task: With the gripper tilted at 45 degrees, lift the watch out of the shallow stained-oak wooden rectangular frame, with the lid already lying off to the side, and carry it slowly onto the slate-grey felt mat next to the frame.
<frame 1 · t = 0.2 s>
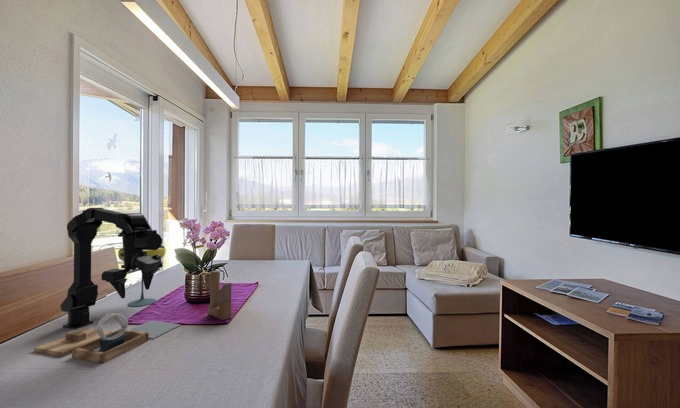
hand: (135, 293, 105), 14 cm above the table, tool pointing down, fingers open, 9 cm apart
watch: (112, 349, 95), resting in wooden rectangular frame
felt mat: (152, 329, 109), on the table
wooden rectangular frame: (112, 348, 95), on the table
cocktail glass: (142, 303, 138), on the table
toolbox lid: (75, 342, 98), on the table
wooden block: (219, 316, 123), on the table
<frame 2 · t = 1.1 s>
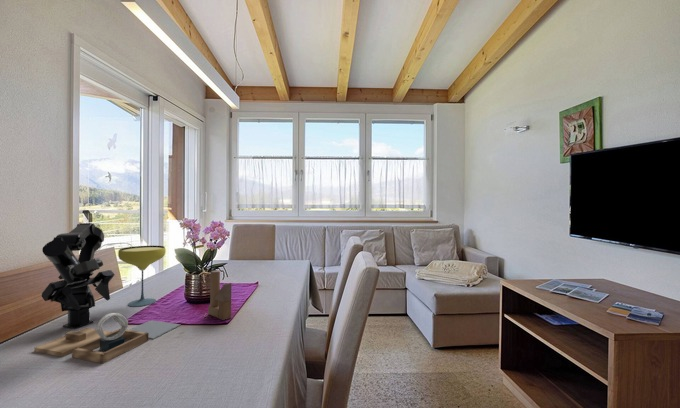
hand: (94, 304, 97), 13 cm above the table, tool tilted 45°, fingers open, 9 cm apart
nothing on the table moved.
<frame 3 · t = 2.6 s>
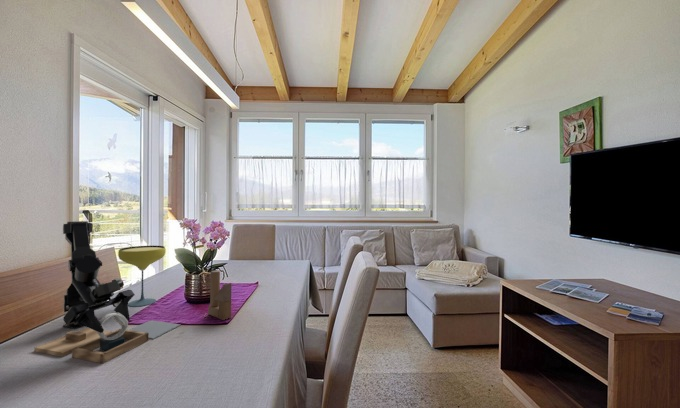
hand: (116, 326, 95), 7 cm above the table, tool tilted 45°, fingers closed on watch, 8 cm apart
watch: (112, 349, 95), resting in wooden rectangular frame, touching gripper
everything else where it was.
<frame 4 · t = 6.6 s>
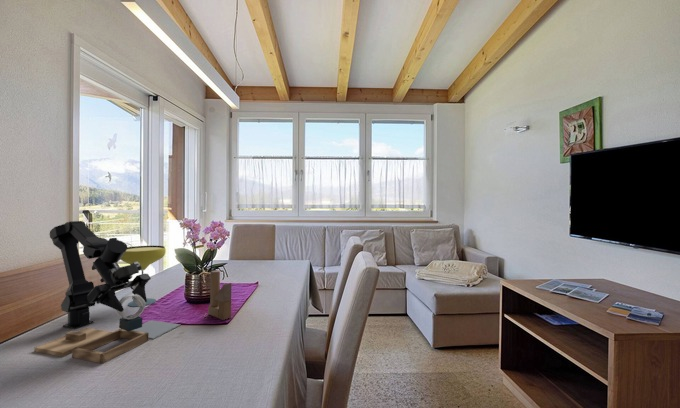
hand: (134, 306, 101), 11 cm above the table, tool tilted 45°, fingers closed on watch, 8 cm apart
watch: (131, 327, 101), point 4 cm above the table, touching gripper
everything else where it was.
when the fingers open (9 cm above the table, at t = 10.4 s): watch drops 1 cm, resting on felt mat.
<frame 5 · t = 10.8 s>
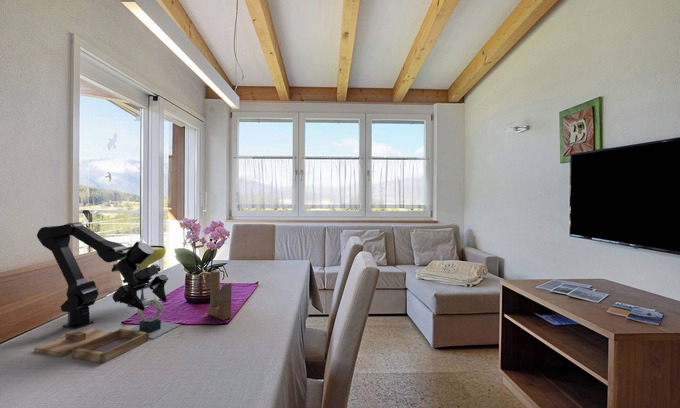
hand: (155, 305, 109), 9 cm above the table, tool tilted 45°, fingers open, 9 cm apart
watch: (150, 329, 109), resting on felt mat
everything else where it was.
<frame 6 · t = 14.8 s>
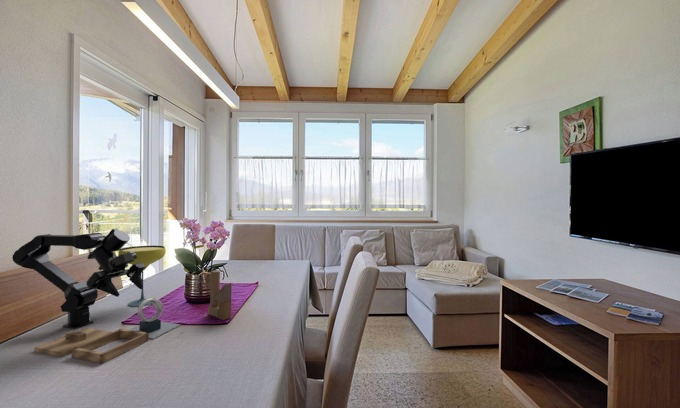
hand: (130, 292, 109), 14 cm above the table, tool tilted 45°, fingers open, 9 cm apart
nothing on the table moved.
at the end: watch inside the target area (0.5 cm from its centre), resting on felt mat; watch tilted 0°; the gripper is holding nothing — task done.
